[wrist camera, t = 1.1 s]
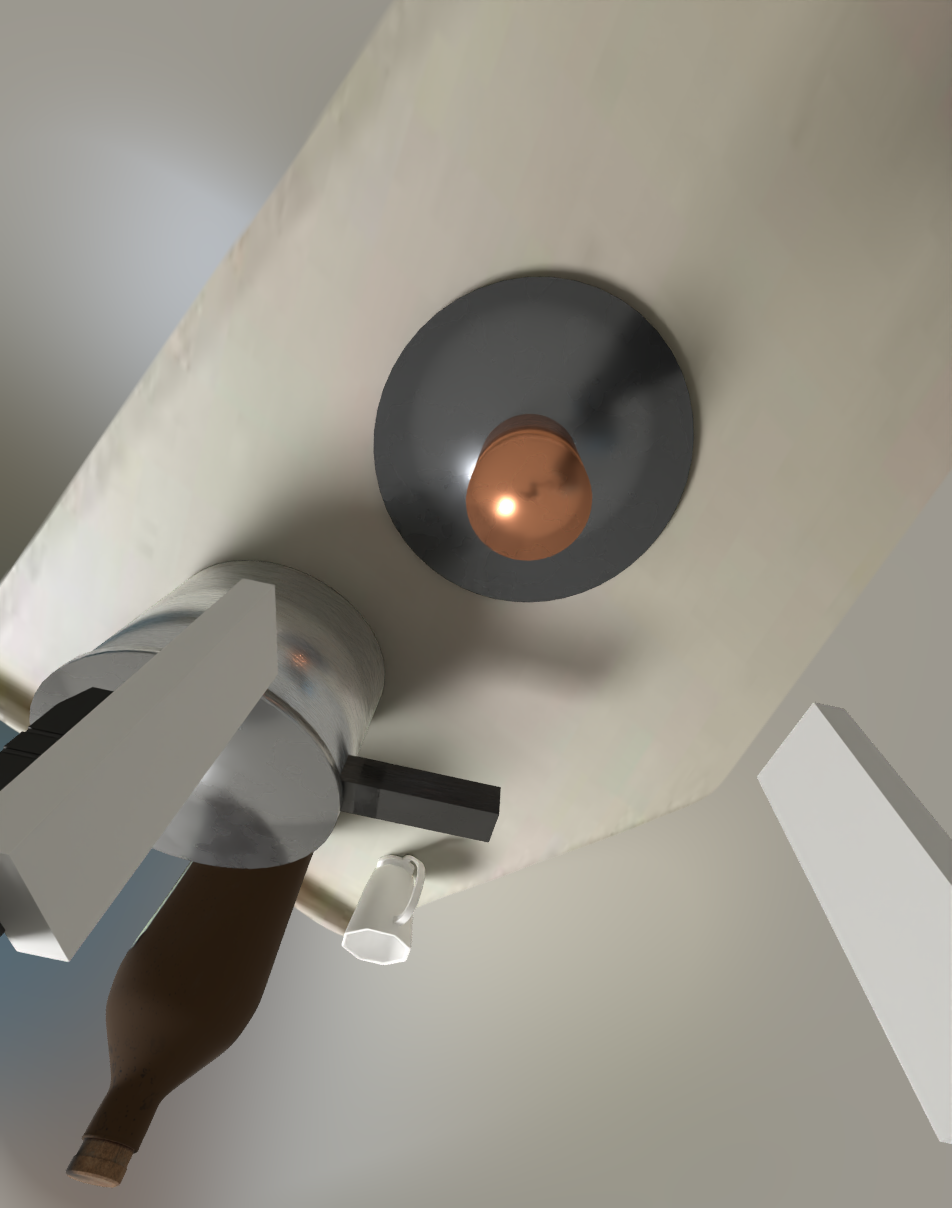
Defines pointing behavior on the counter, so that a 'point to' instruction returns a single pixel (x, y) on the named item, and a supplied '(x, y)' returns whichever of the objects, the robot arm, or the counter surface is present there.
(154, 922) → the olive oil
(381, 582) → the counter surface
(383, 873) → the cup
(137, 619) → the cooker body
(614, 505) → the cooker lid
